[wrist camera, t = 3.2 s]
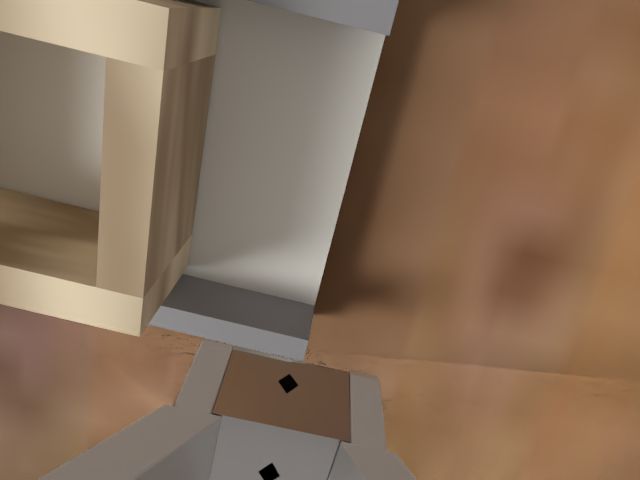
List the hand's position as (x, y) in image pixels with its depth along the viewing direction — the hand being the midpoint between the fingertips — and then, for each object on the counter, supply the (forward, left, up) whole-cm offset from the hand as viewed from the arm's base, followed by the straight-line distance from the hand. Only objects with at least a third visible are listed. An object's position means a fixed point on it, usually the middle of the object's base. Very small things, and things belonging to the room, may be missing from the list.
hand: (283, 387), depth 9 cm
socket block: (+10, 0, -12) cm, 15 cm away
